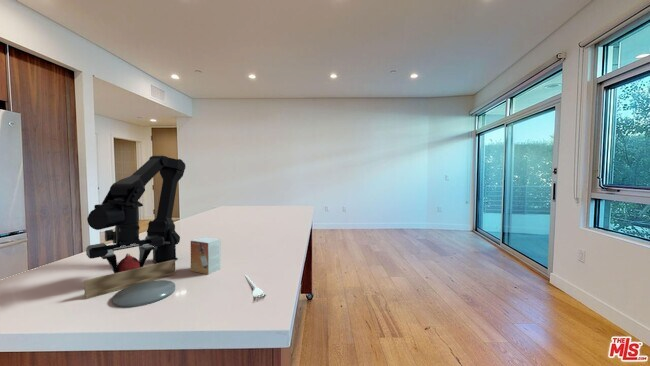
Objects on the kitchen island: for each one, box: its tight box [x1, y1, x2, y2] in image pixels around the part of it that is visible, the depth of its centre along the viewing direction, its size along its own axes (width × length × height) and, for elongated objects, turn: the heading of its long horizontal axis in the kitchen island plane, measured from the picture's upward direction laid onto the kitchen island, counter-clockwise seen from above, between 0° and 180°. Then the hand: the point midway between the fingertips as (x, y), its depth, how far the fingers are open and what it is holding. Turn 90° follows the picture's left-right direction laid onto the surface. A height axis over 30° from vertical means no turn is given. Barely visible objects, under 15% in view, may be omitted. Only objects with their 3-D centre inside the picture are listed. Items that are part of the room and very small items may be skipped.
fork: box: [244, 274, 268, 298], centre depth 77 cm, size 3×20×2 cm, turn 29°
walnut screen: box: [83, 260, 177, 300], centre depth 78 cm, size 22×2×4 cm, turn 140°
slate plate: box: [112, 279, 176, 308], centre depth 72 cm, size 14×14×1 cm
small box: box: [190, 237, 222, 275], centre depth 89 cm, size 8×6×10 cm
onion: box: [117, 253, 140, 272], centre depth 82 cm, size 6×6×8 cm
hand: (128, 272), depth 82 cm, fingers closed on onion, 6 cm apart
